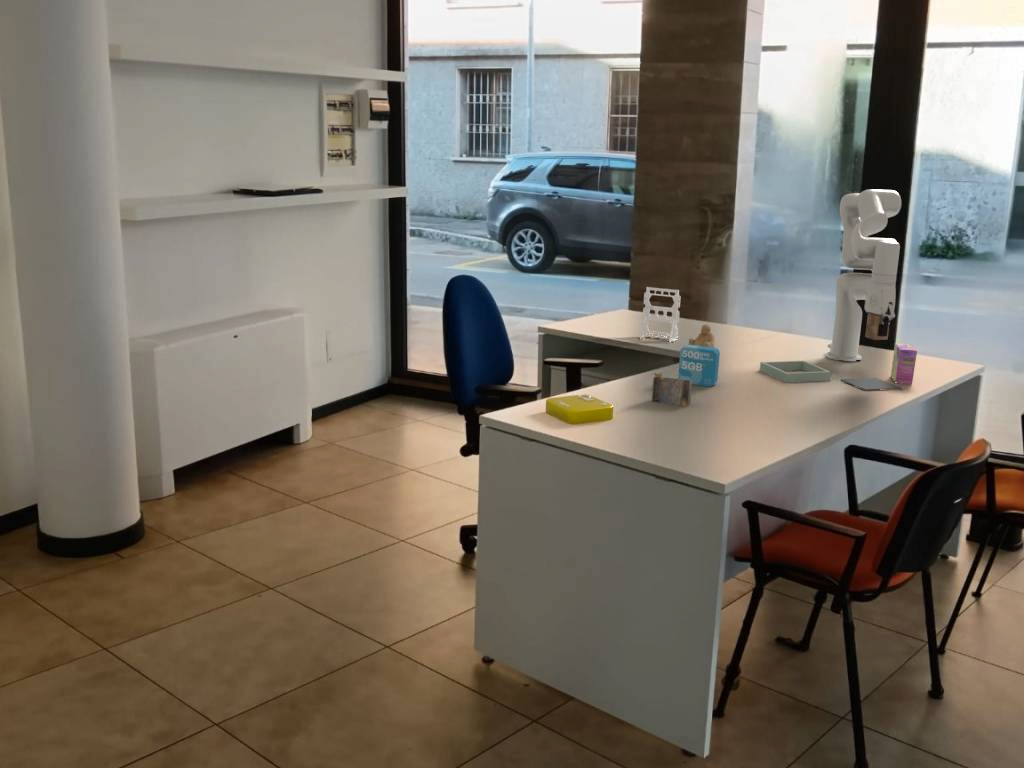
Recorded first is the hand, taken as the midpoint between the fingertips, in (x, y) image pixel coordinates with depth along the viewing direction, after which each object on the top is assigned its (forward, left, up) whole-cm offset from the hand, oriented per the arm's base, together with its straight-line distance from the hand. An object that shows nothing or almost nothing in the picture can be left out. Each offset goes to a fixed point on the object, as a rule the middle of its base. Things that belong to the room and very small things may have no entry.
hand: (876, 333), depth 346 cm
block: (0, 0, -2) cm, 2 cm away
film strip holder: (-80, -40, -18) cm, 91 cm away
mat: (0, 0, -17) cm, 17 cm away
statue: (-45, -40, -18) cm, 63 cm away
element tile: (+19, -110, -18) cm, 113 cm away
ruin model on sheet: (+10, -77, -18) cm, 80 cm away
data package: (-11, -58, -18) cm, 62 cm away
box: (-4, +15, -18) cm, 23 cm away
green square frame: (-16, -19, -17) cm, 30 cm away
